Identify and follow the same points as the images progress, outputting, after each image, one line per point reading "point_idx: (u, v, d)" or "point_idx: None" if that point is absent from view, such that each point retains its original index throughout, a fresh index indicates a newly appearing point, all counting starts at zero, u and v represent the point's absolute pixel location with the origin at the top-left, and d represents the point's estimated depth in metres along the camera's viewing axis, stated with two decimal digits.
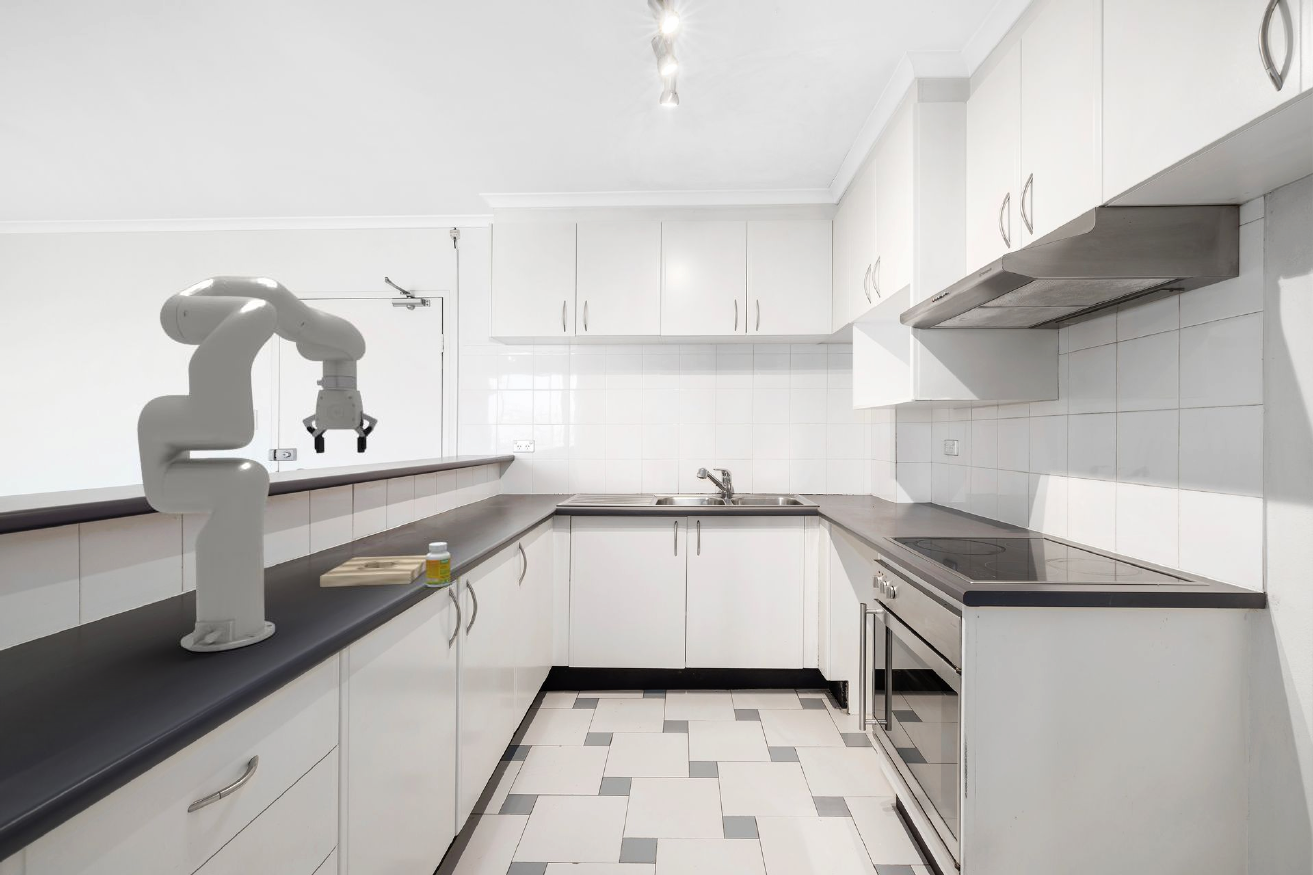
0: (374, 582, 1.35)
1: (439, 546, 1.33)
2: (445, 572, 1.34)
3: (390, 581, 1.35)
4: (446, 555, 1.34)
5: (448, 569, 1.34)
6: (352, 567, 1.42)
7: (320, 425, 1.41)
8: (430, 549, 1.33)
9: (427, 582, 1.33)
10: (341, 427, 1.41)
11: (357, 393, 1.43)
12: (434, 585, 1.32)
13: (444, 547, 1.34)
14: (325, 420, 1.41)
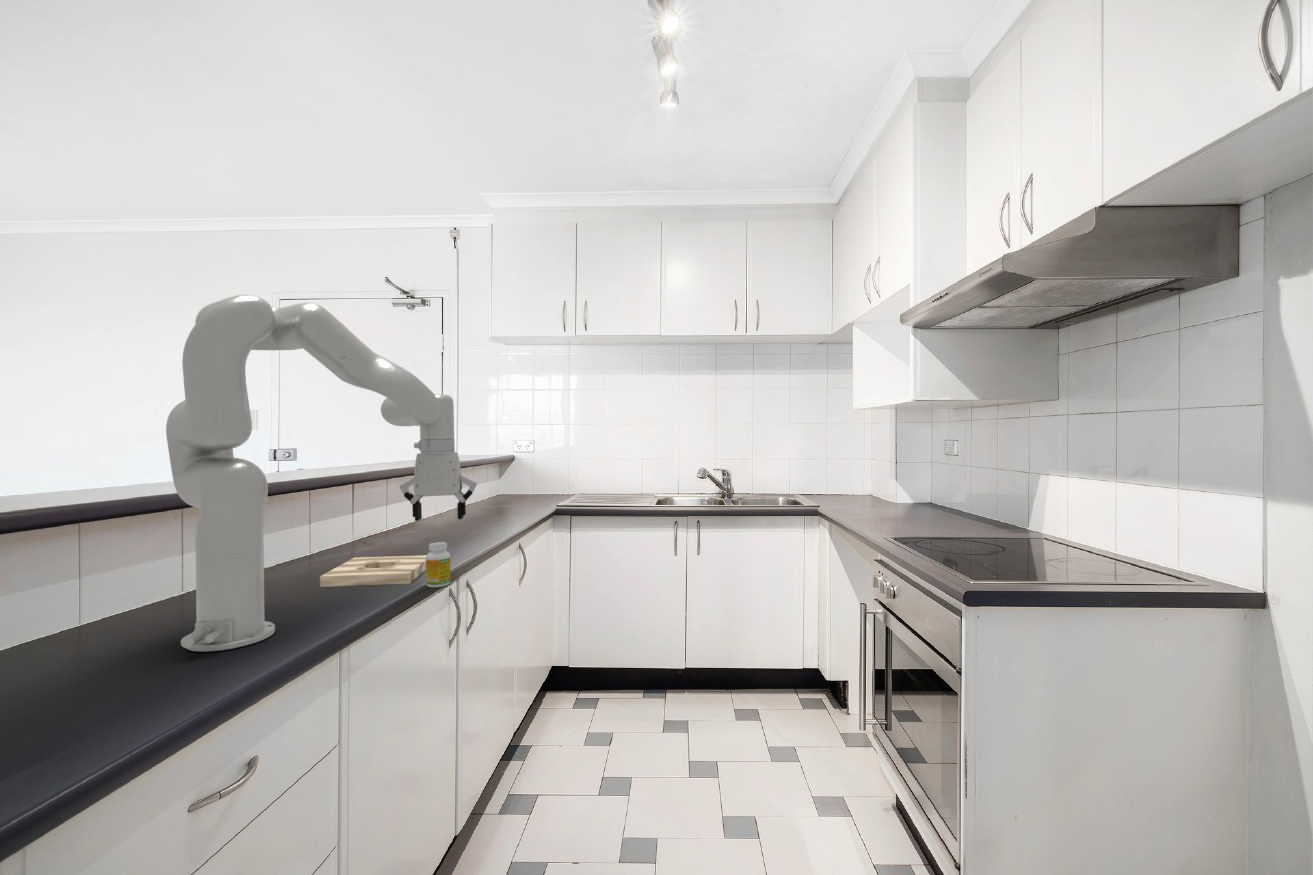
0: (374, 582, 1.35)
1: (439, 546, 1.33)
2: (445, 572, 1.34)
3: (390, 581, 1.35)
4: (446, 555, 1.34)
5: (448, 569, 1.34)
6: (352, 567, 1.42)
7: (419, 492, 1.32)
8: (430, 549, 1.33)
9: (427, 582, 1.33)
10: (441, 493, 1.32)
11: (456, 456, 1.34)
12: (434, 585, 1.32)
13: (444, 547, 1.34)
14: (424, 486, 1.32)
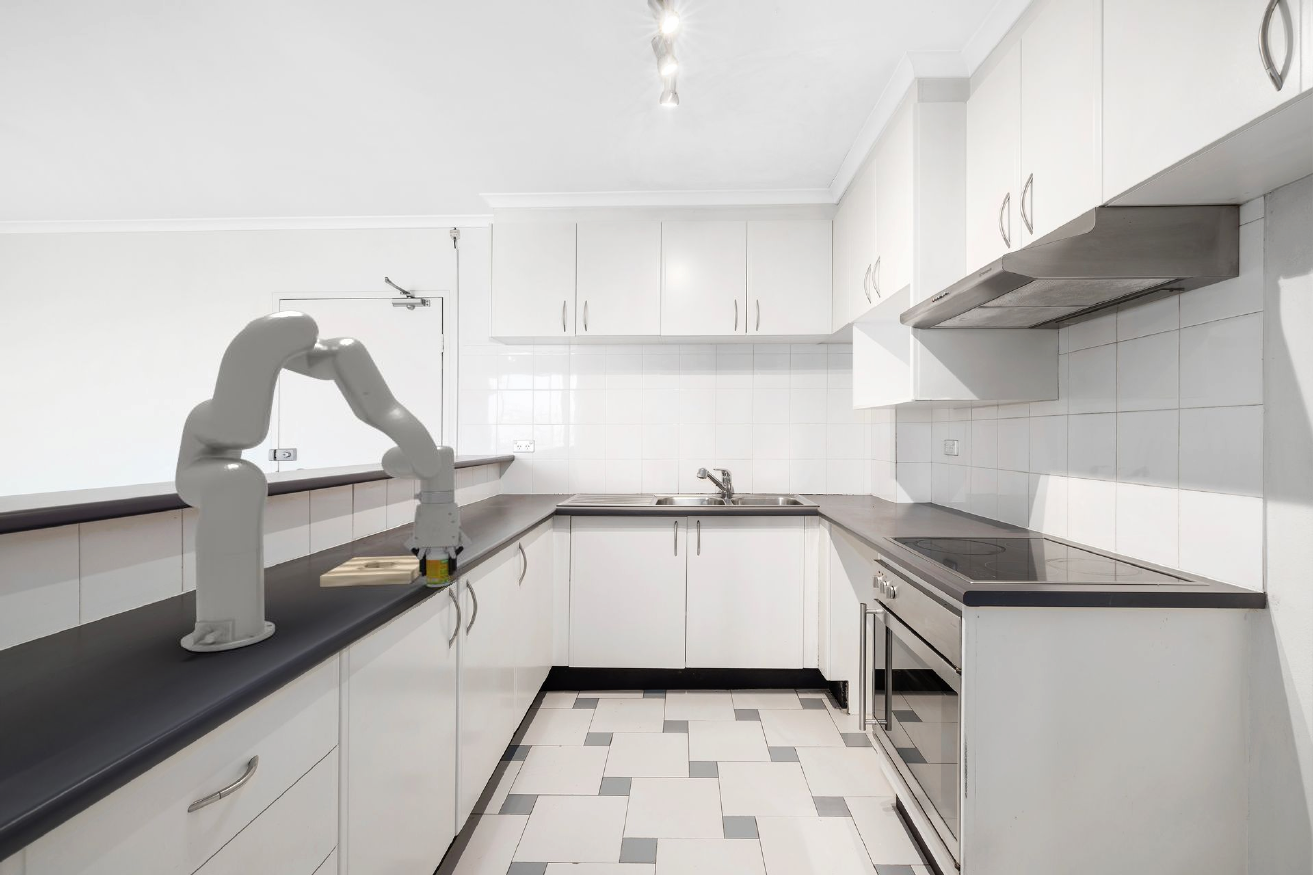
0: (374, 582, 1.35)
1: None
2: (445, 572, 1.34)
3: (390, 581, 1.35)
4: (446, 554, 1.34)
5: (448, 569, 1.34)
6: (352, 567, 1.42)
7: (419, 544, 1.32)
8: (430, 549, 1.33)
9: (427, 582, 1.33)
10: (440, 545, 1.32)
11: (456, 507, 1.34)
12: (434, 585, 1.32)
13: (444, 547, 1.34)
14: (424, 538, 1.32)
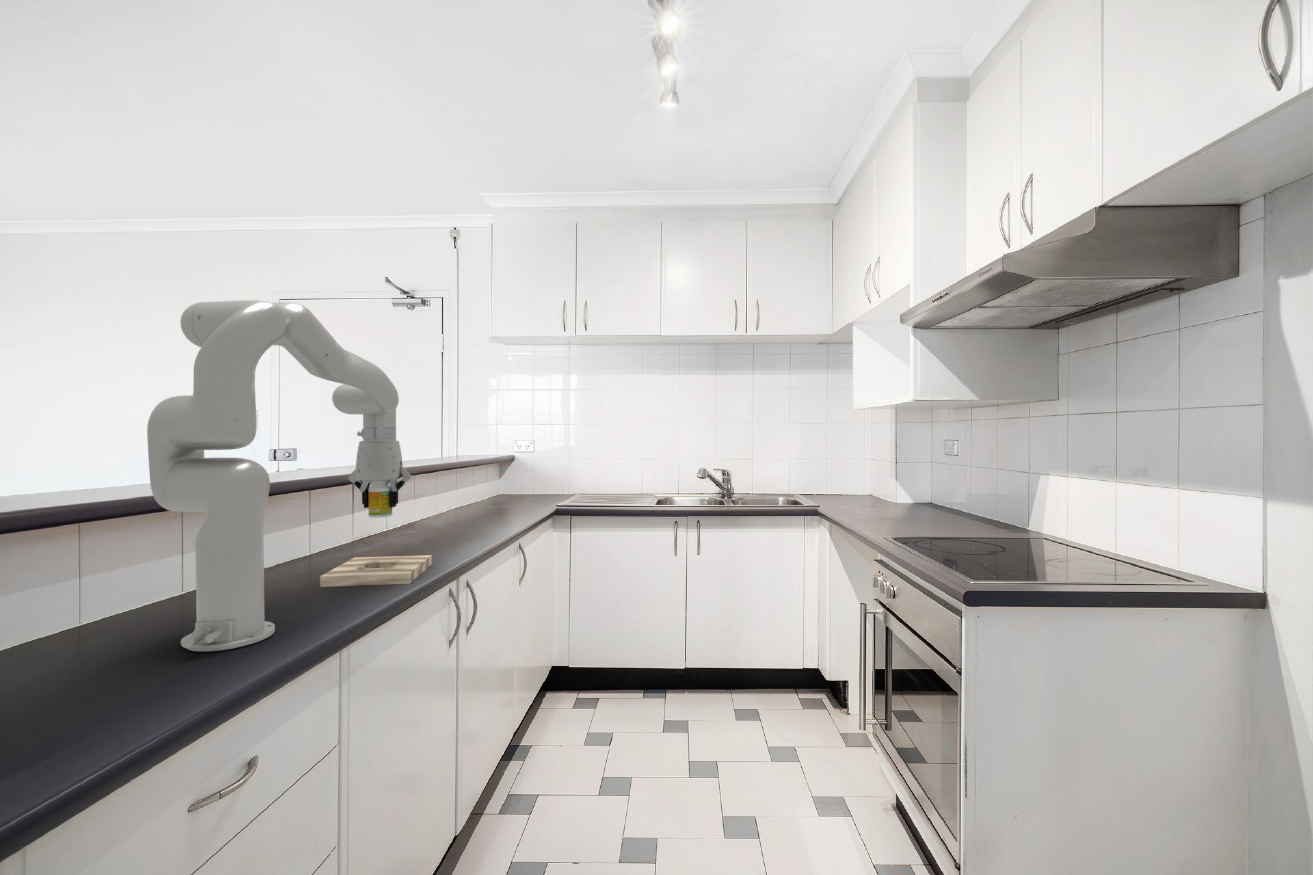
0: (374, 582, 1.35)
1: None
2: (386, 504, 1.43)
3: (390, 581, 1.35)
4: (387, 488, 1.43)
5: None
6: (352, 567, 1.42)
7: (360, 476, 1.41)
8: (372, 482, 1.43)
9: (369, 513, 1.42)
10: (381, 478, 1.42)
11: (397, 444, 1.43)
12: (375, 515, 1.42)
13: (385, 481, 1.43)
14: (365, 471, 1.41)
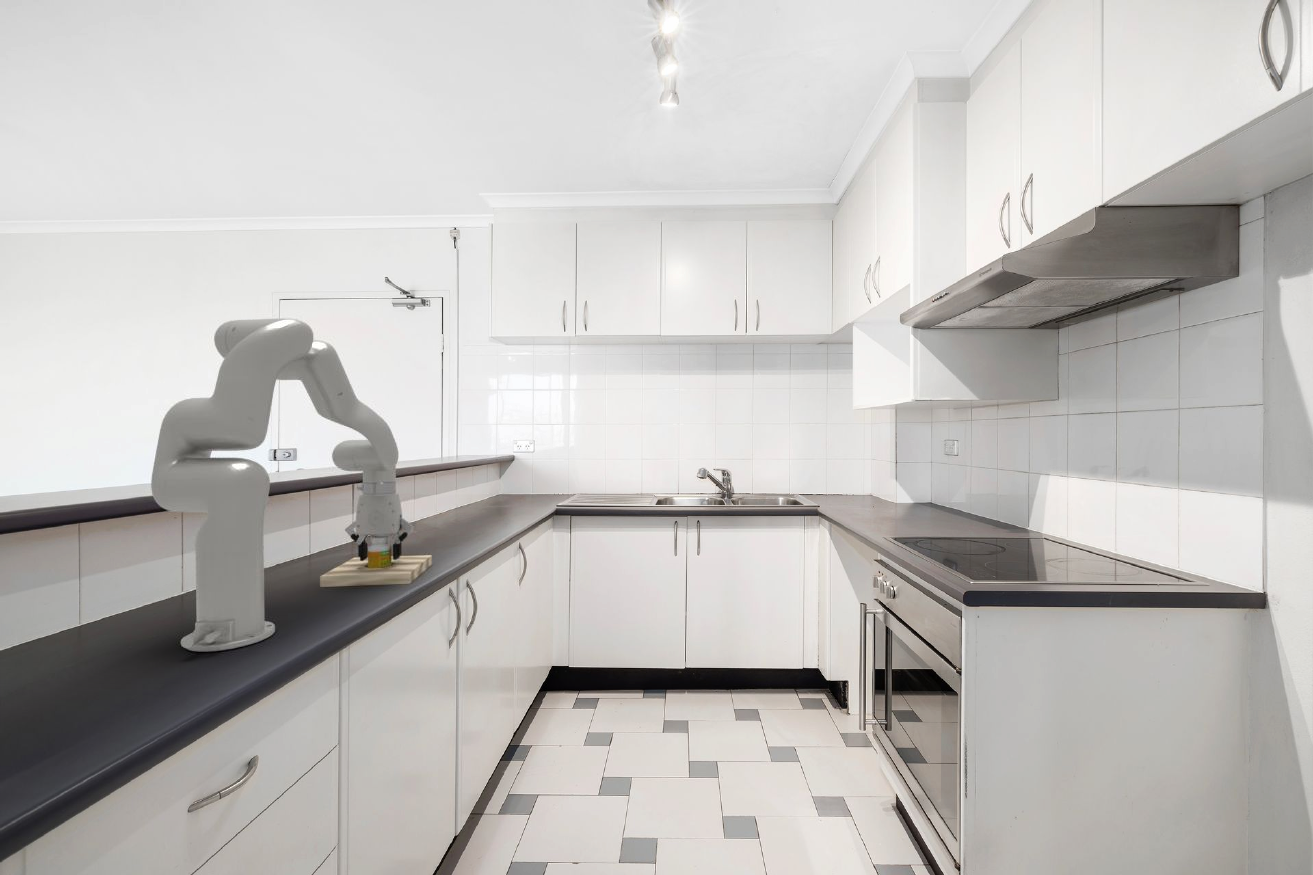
0: (374, 582, 1.35)
1: (380, 539, 1.43)
2: (386, 563, 1.43)
3: (390, 581, 1.35)
4: (387, 547, 1.43)
5: (389, 560, 1.44)
6: (352, 567, 1.42)
7: (360, 531, 1.41)
8: (371, 541, 1.43)
9: None
10: (381, 533, 1.42)
11: (396, 498, 1.44)
12: None
13: (385, 540, 1.44)
14: (365, 526, 1.41)
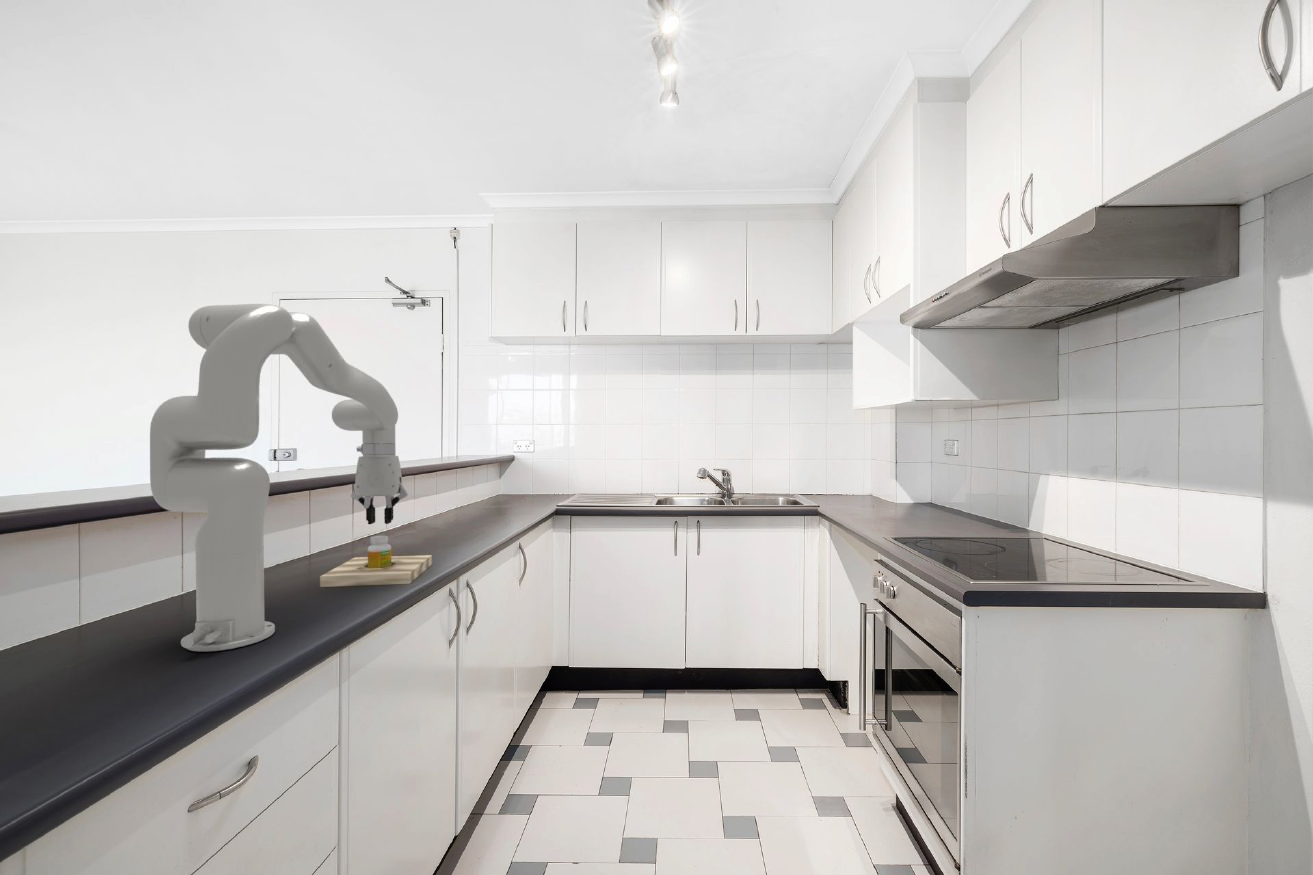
0: (374, 582, 1.35)
1: (380, 539, 1.43)
2: (386, 563, 1.43)
3: (390, 581, 1.35)
4: (387, 547, 1.43)
5: (388, 560, 1.44)
6: (352, 567, 1.42)
7: (360, 492, 1.41)
8: (371, 542, 1.43)
9: None
10: (381, 494, 1.42)
11: (396, 459, 1.44)
12: None
13: (385, 540, 1.44)
14: (365, 487, 1.41)
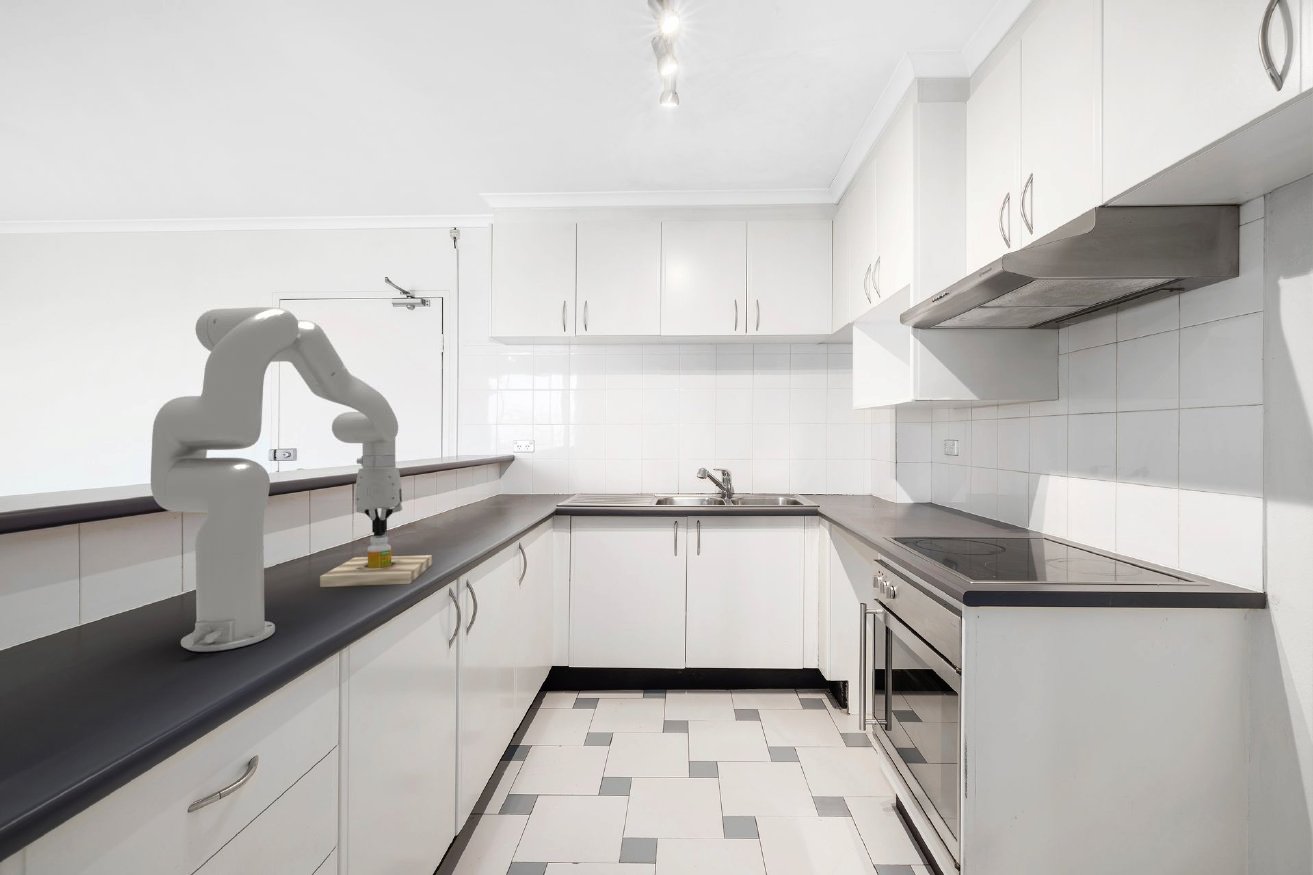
0: (374, 582, 1.35)
1: (379, 539, 1.43)
2: (386, 563, 1.43)
3: (390, 581, 1.35)
4: (386, 547, 1.43)
5: (388, 560, 1.44)
6: (352, 567, 1.42)
7: (360, 504, 1.41)
8: (371, 542, 1.43)
9: None
10: (380, 506, 1.42)
11: (396, 471, 1.44)
12: None
13: (385, 540, 1.44)
14: (365, 499, 1.41)
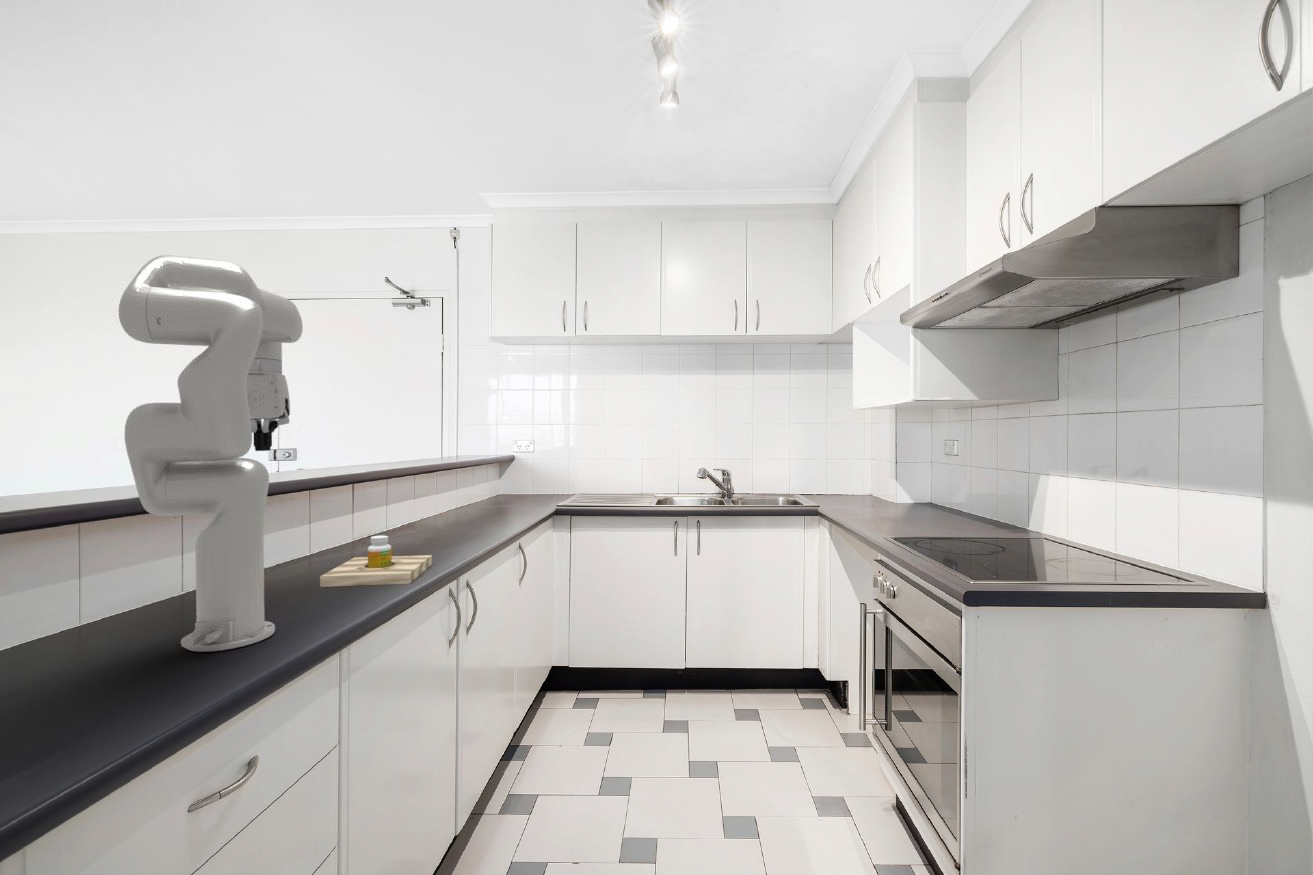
0: (374, 582, 1.35)
1: (380, 539, 1.43)
2: (386, 563, 1.43)
3: (390, 581, 1.35)
4: (387, 547, 1.43)
5: (389, 560, 1.44)
6: (352, 567, 1.42)
7: None
8: (371, 542, 1.43)
9: None
10: (261, 416, 1.25)
11: (281, 378, 1.27)
12: None
13: (385, 540, 1.44)
14: None
